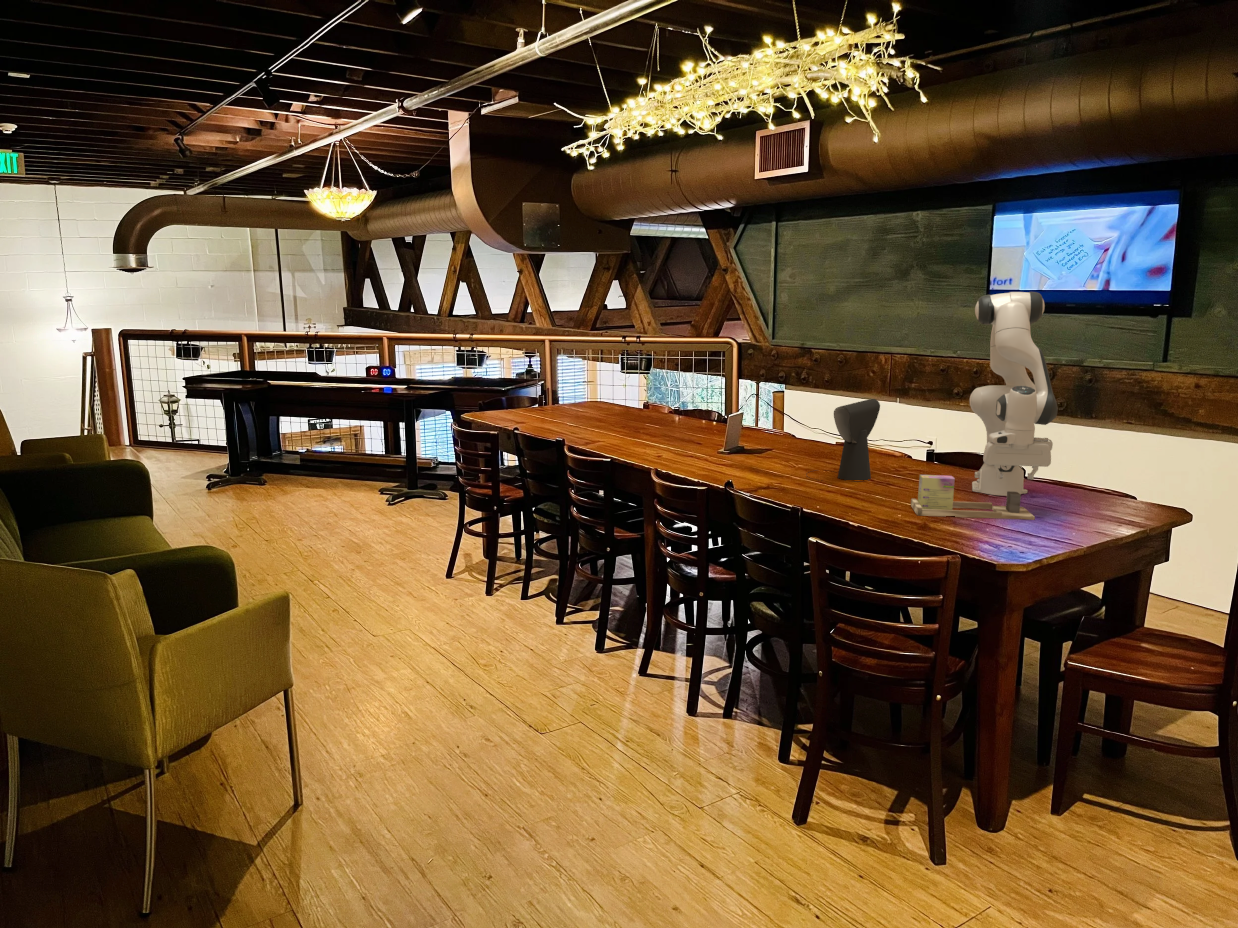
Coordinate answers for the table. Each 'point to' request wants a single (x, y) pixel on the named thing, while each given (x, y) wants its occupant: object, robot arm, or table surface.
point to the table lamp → (855, 437)
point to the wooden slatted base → (1002, 512)
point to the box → (936, 492)
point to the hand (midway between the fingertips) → (1014, 478)
